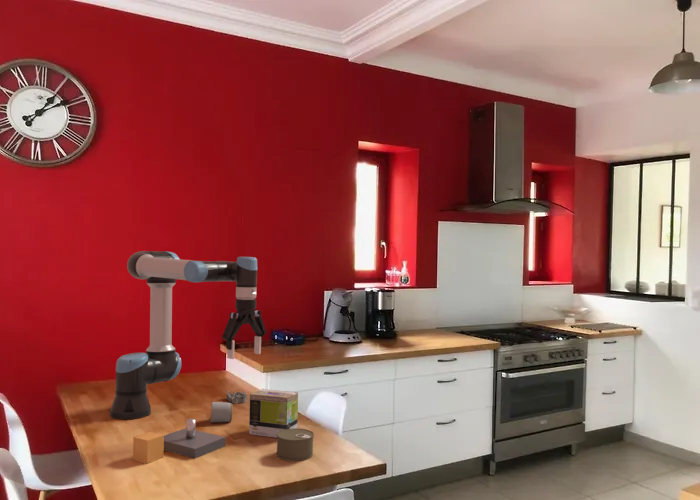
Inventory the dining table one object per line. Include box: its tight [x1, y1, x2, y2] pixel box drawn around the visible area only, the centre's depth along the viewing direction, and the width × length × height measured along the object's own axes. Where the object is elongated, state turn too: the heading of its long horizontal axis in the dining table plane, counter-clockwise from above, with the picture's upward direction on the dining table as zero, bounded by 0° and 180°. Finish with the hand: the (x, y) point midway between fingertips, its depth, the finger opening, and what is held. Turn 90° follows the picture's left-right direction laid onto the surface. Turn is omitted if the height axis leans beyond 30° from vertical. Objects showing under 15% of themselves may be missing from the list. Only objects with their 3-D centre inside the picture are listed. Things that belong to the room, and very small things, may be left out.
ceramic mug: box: [210, 401, 234, 424], centre depth 221 cm, size 11×8×8 cm
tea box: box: [248, 388, 299, 439], centre depth 207 cm, size 15×10×15 cm, turn 71°
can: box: [276, 428, 315, 462], centre depth 186 cm, size 12×12×7 cm
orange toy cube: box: [132, 431, 165, 464], centre depth 179 cm, size 6×6×7 cm
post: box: [185, 418, 197, 439], centre depth 191 cm, size 3×3×6 cm
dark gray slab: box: [163, 427, 227, 459], centre depth 191 cm, size 18×14×3 cm
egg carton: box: [225, 389, 248, 405], centre depth 252 cm, size 11×8×4 cm
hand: (244, 356), depth 211 cm, fingers open, 13 cm apart
